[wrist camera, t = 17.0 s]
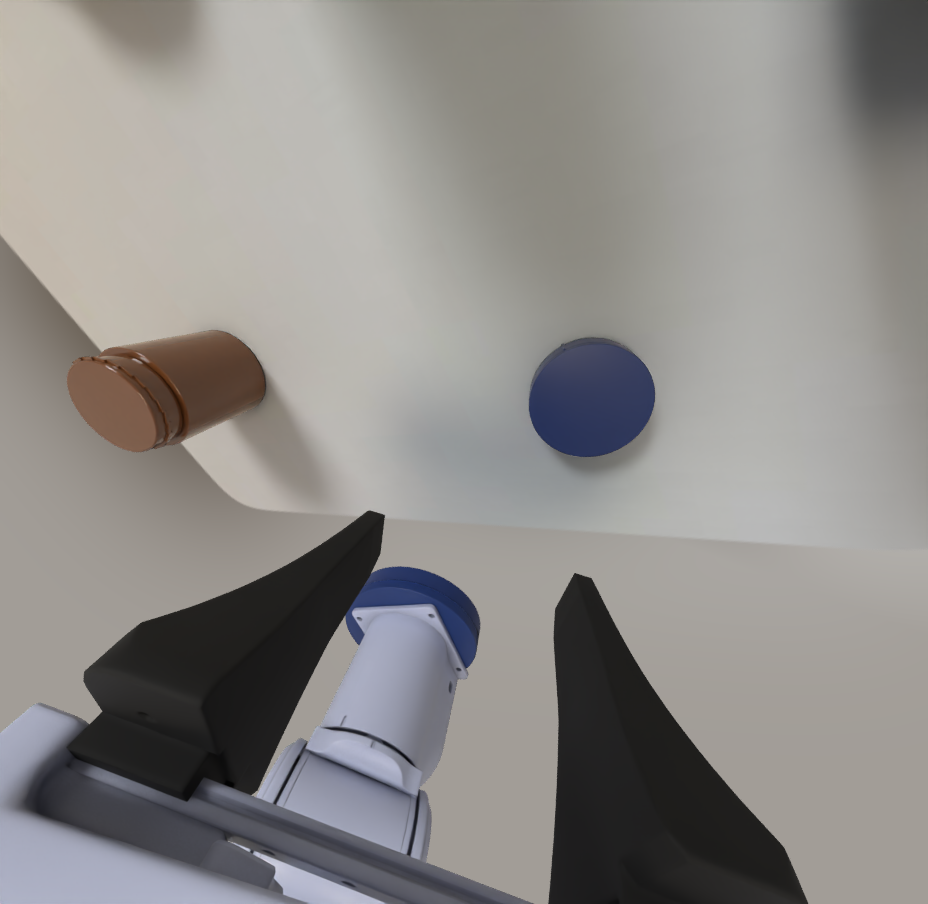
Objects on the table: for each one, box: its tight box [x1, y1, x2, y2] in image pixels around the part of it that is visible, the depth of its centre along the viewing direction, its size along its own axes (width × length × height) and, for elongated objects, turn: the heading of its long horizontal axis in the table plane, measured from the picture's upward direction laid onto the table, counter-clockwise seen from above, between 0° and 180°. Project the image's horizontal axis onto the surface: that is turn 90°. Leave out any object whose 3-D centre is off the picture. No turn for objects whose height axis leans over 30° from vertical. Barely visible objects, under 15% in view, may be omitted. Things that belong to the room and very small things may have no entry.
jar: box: [67, 330, 265, 452], centre depth 19 cm, size 5×5×7 cm
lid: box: [529, 338, 655, 457], centre depth 17 cm, size 6×6×2 cm
